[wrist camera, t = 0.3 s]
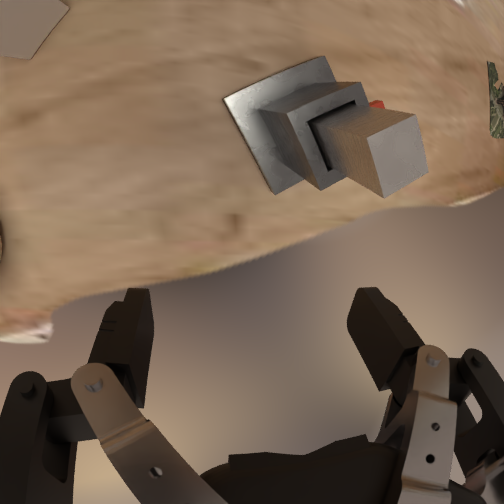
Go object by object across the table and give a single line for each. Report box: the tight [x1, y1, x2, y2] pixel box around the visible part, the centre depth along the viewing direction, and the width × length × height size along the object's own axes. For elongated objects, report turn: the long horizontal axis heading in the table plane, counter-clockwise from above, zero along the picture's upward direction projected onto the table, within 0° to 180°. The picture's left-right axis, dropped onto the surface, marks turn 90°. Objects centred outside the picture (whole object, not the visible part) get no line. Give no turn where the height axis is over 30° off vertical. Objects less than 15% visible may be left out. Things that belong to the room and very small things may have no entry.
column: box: [307, 104, 428, 198], centre depth 22 cm, size 4×4×16 cm
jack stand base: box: [222, 56, 385, 195], centre depth 26 cm, size 12×12×10 cm
